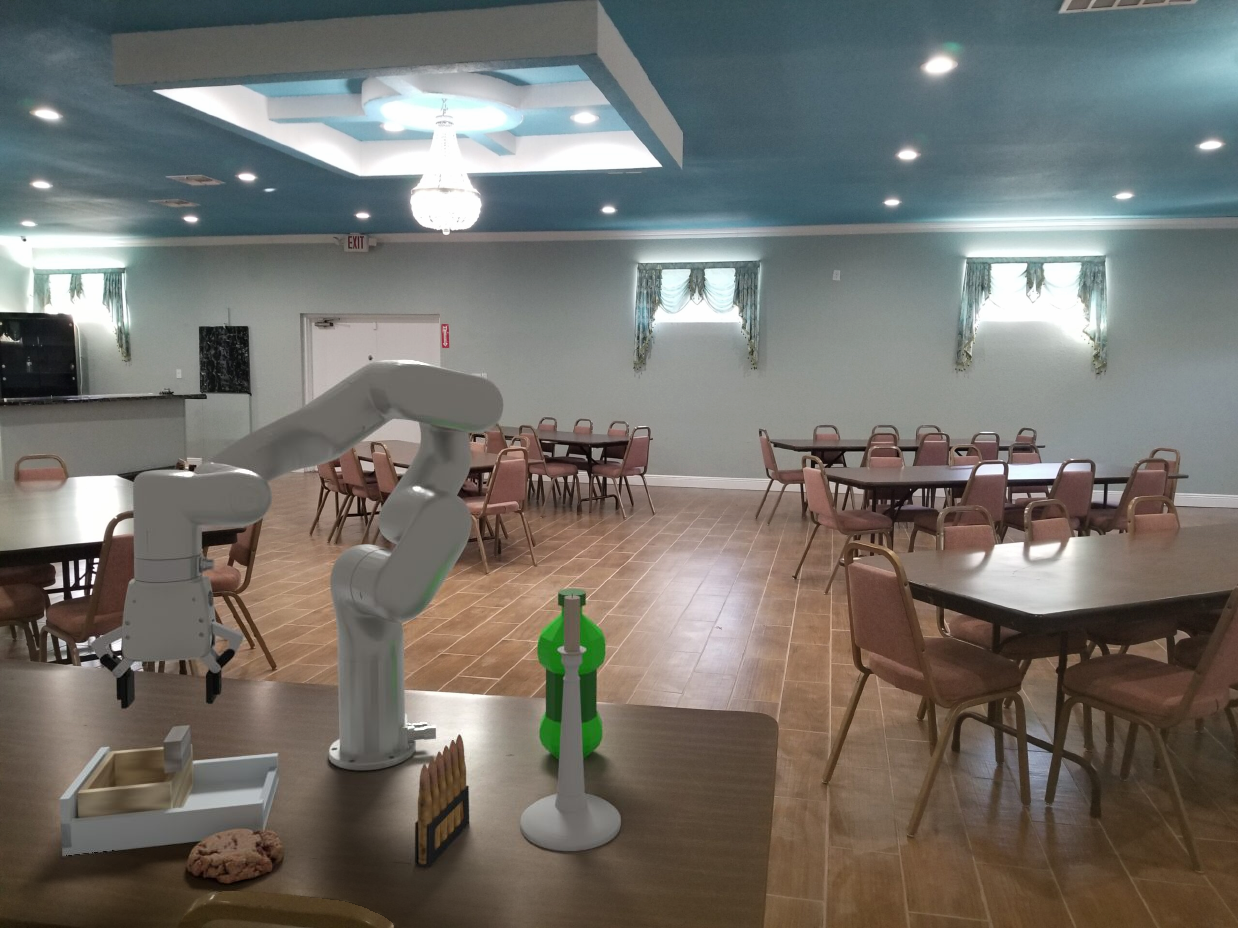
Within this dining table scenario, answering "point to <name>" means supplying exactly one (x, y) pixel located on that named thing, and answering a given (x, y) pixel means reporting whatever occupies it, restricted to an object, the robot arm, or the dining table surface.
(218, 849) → the cookie
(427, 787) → the ammunition clip
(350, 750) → the robot arm
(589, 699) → the plastic bottle
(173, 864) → the dining table surface
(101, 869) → the dining table surface
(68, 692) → the dining table surface
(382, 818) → the dining table surface
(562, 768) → the candlestick
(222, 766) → the bay
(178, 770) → the drawer
